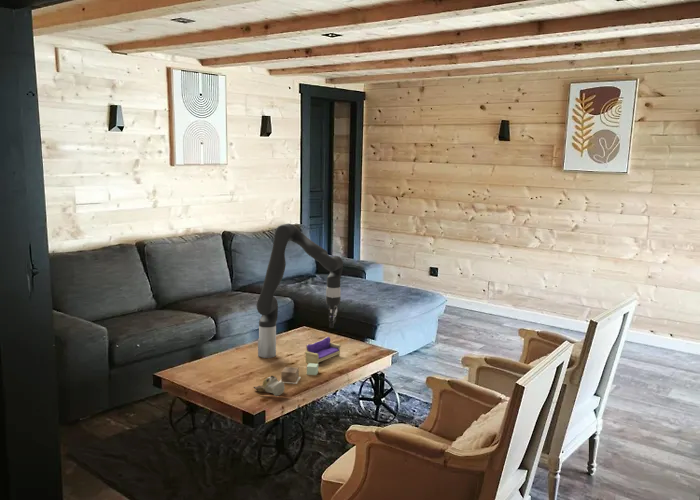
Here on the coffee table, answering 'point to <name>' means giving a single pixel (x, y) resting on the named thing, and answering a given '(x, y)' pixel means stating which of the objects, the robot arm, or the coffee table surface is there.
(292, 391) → the coffee table surface
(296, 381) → the mat
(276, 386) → the ceramic sculpture
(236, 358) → the coffee table surface
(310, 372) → the sage cube
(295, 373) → the walnut base block
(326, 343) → the toy sofa
